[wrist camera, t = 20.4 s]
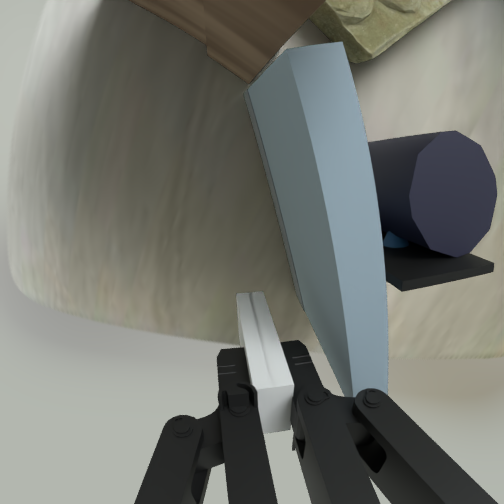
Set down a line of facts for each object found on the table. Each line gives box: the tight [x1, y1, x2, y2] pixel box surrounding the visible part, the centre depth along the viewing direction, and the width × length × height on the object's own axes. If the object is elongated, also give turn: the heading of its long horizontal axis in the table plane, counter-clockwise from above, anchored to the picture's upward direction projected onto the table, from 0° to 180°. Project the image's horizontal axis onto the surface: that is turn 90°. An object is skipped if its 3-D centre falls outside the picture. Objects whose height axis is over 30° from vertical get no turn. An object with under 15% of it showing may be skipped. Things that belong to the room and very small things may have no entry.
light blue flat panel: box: [243, 42, 388, 397], centre depth 14 cm, size 13×2×11 cm, turn 16°
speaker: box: [368, 131, 497, 291], centre depth 15 cm, size 8×6×10 cm
